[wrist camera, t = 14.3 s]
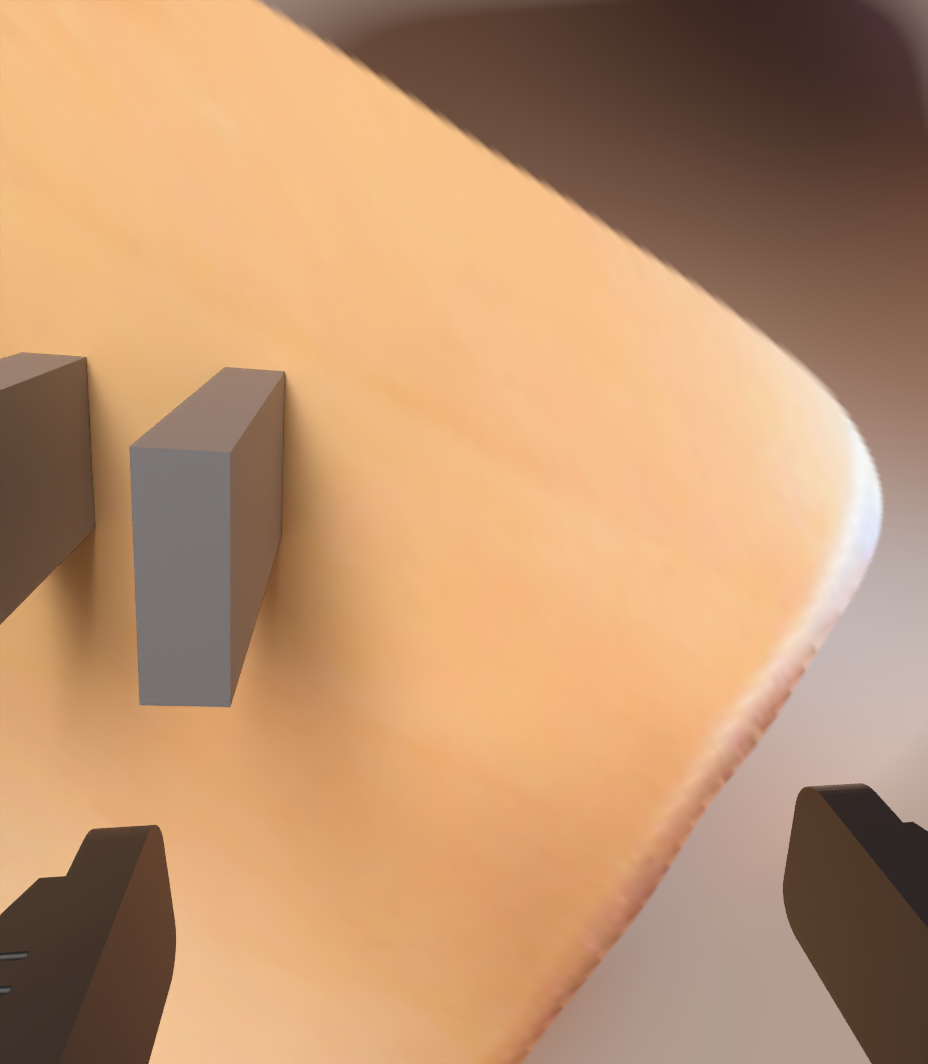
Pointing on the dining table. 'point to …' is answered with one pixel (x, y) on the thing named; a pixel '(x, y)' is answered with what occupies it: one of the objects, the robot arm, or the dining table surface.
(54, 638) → the dining table surface
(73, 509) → the domino
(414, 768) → the dining table surface
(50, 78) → the dining table surface
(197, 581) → the domino
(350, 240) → the dining table surface
